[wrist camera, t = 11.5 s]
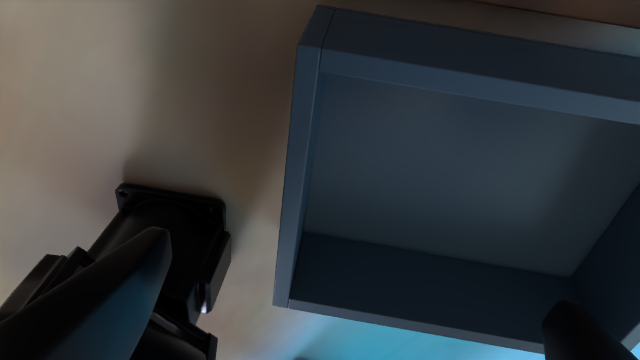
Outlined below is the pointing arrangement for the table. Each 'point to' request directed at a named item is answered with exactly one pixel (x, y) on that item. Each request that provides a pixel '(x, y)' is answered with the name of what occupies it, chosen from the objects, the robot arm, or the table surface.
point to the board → (580, 9)
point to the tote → (459, 181)
